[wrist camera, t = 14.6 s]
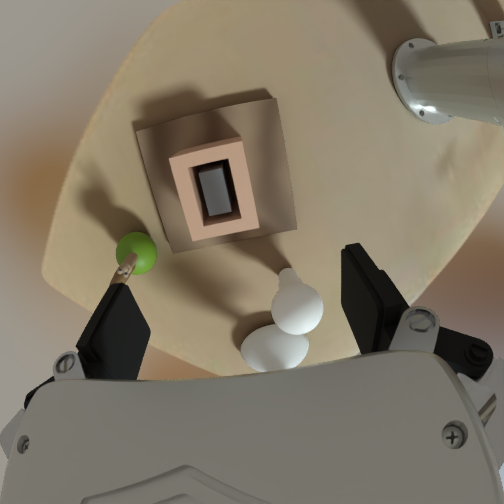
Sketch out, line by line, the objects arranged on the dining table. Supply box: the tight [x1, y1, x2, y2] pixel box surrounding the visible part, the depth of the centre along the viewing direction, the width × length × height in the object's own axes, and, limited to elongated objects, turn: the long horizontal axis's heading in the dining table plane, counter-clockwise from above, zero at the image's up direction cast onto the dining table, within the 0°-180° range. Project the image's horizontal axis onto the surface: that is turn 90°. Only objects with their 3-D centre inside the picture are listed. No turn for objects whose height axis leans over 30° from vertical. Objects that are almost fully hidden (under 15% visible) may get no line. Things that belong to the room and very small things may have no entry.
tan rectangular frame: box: [169, 136, 259, 241], centre depth 28 cm, size 7×9×6 cm
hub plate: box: [136, 98, 297, 254], centre depth 29 cm, size 16×16×7 cm
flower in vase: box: [241, 324, 309, 372], centre depth 35 cm, size 13×11×25 cm
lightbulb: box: [271, 268, 323, 335], centre depth 34 cm, size 6×6×11 cm
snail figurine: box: [110, 232, 157, 285], centre depth 30 cm, size 5×6×12 cm
